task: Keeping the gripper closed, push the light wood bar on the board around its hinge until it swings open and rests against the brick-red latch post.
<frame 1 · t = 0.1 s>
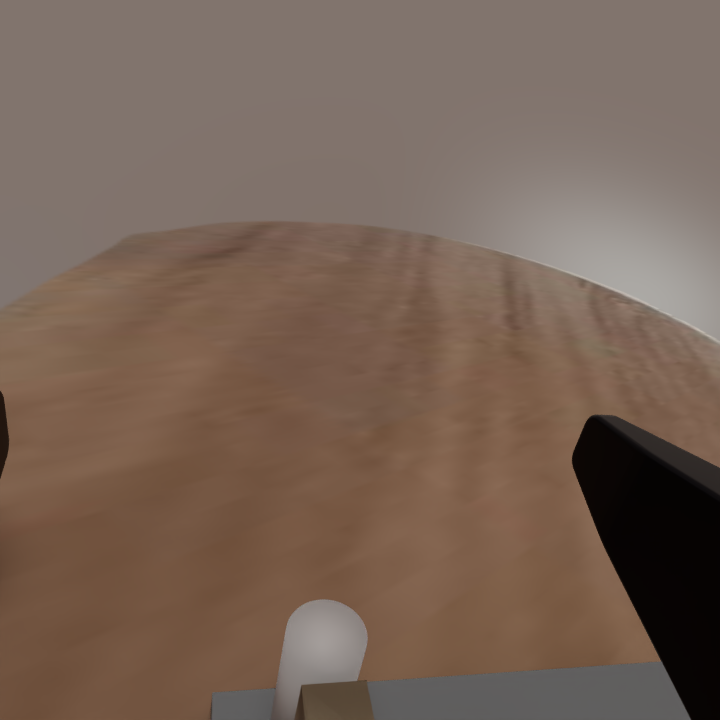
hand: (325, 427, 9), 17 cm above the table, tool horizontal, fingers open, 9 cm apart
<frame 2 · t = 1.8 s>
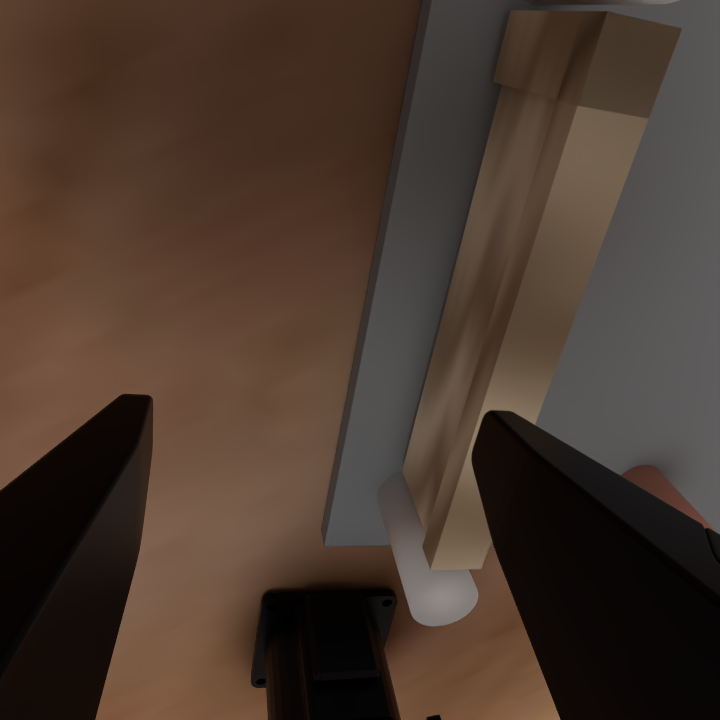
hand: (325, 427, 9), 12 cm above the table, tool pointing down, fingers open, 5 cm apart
light wood bar: (494, 317, 18), point 4 cm above the table, hinge at 0.0°
latch post: (624, 471, 29), resting on gate board
gate board: (638, 302, 24), on the table
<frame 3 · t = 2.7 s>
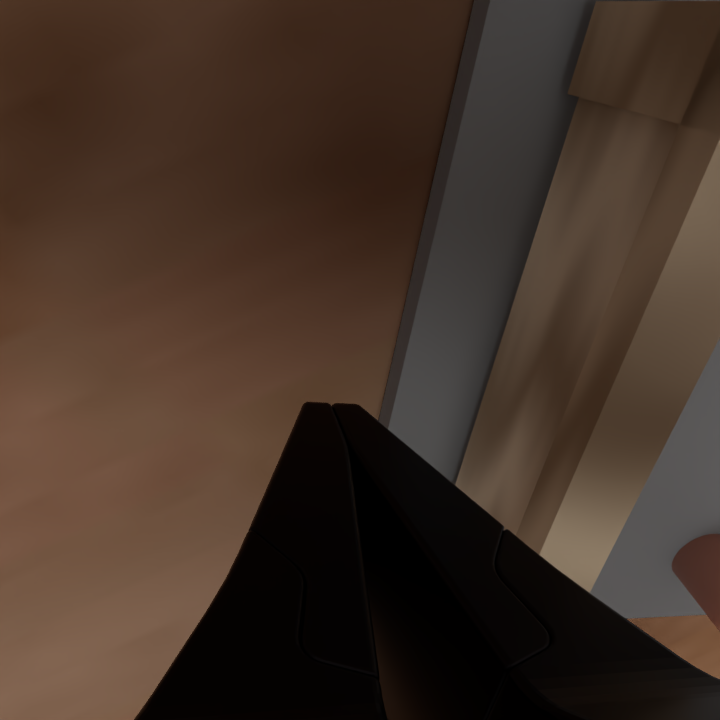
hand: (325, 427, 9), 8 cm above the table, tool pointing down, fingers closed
light wood bar: (563, 391, 15), point 4 cm above the table, hinge at 0.0°
latch post: (684, 537, 25), resting on gate board
gate board: (716, 352, 20), on the table
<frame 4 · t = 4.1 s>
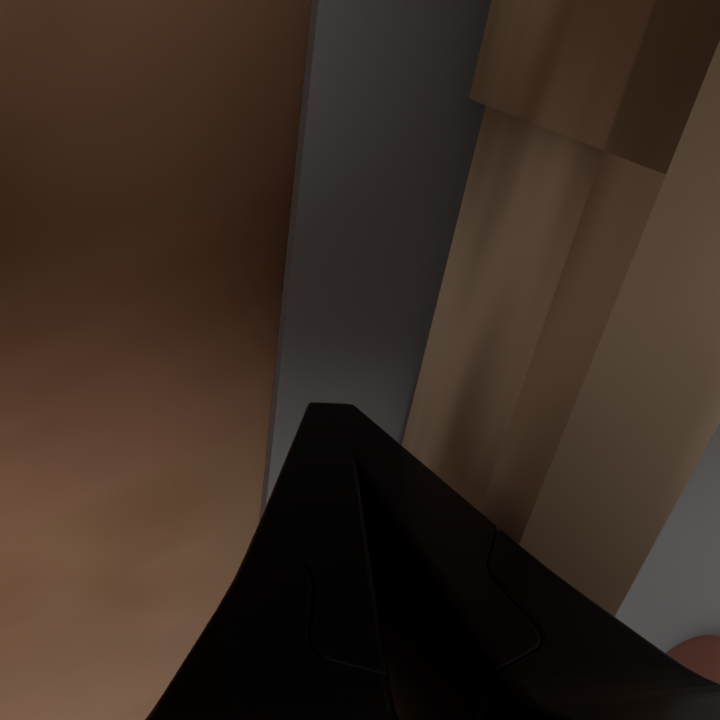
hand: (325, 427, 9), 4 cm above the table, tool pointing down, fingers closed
light wood bar: (474, 520, 10), point 4 cm above the table, hinge at -1.0°, touching gripper
latch post: (671, 632, 20), resting on gate board
gate board: (700, 423, 16), on the table
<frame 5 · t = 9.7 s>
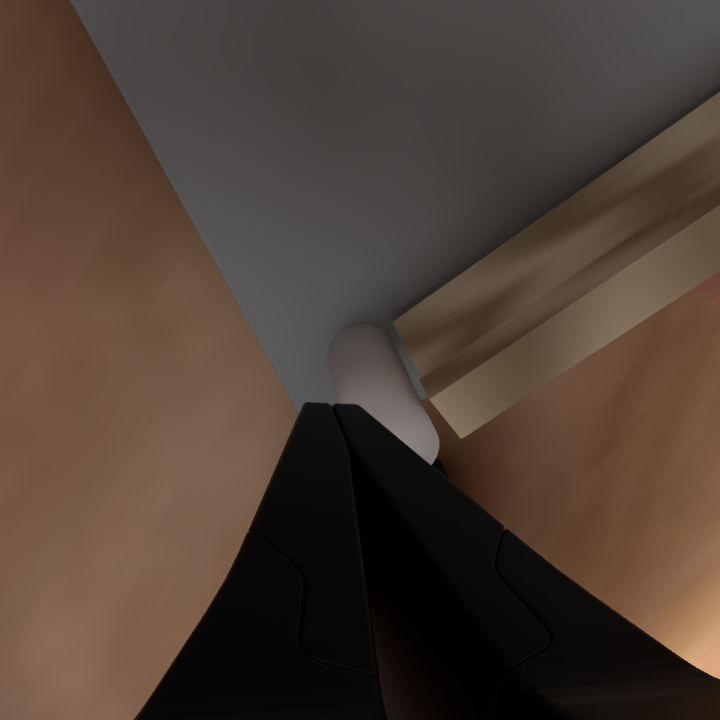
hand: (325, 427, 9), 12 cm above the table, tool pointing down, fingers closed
light wood bar: (651, 215, 17), point 4 cm above the table, hinge at -76.0°, touching latch post
latch post: (633, 206, 22), resting on gate board
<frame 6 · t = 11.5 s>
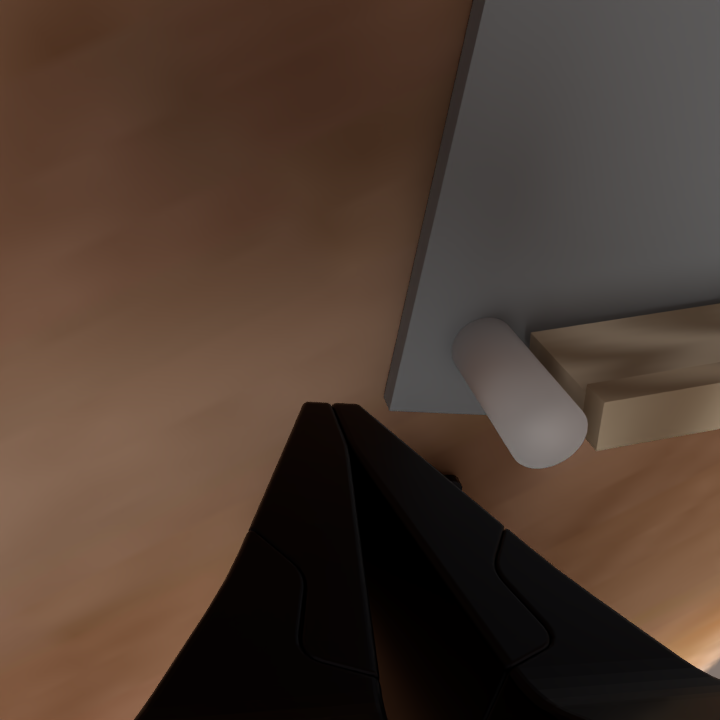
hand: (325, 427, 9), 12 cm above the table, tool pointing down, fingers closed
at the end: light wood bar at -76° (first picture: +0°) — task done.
